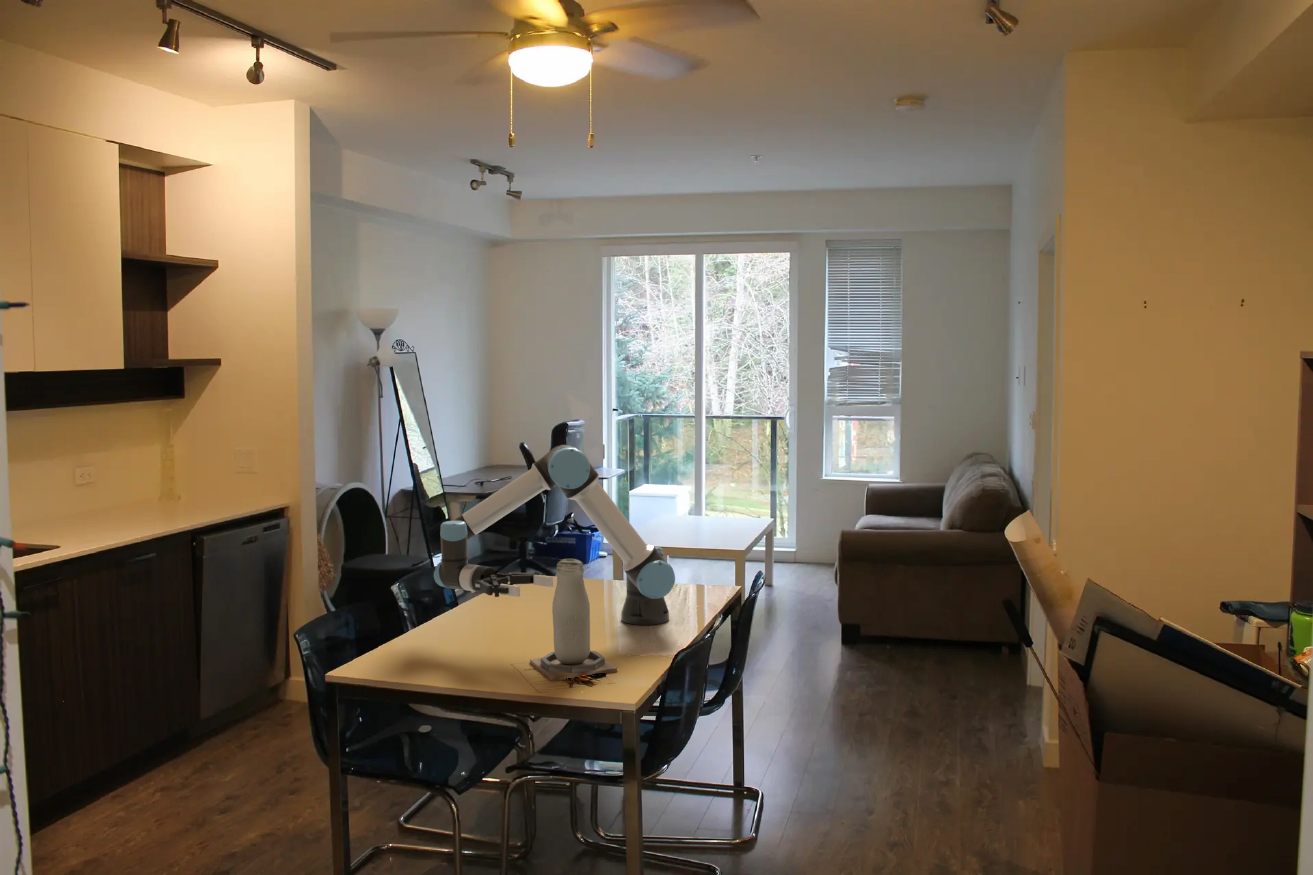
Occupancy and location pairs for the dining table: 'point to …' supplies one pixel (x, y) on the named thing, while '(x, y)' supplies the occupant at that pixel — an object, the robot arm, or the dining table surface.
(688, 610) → the dining table surface
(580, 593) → the glass bottle
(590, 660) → the socket board
